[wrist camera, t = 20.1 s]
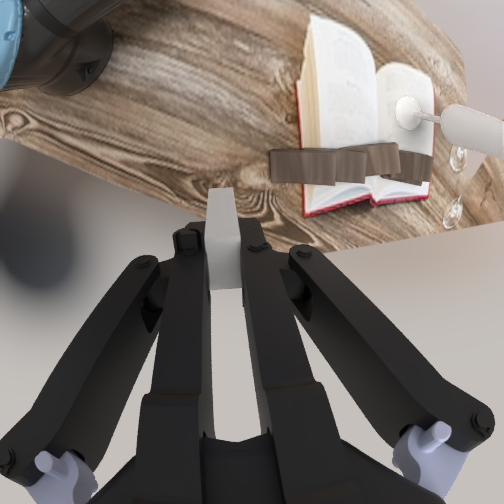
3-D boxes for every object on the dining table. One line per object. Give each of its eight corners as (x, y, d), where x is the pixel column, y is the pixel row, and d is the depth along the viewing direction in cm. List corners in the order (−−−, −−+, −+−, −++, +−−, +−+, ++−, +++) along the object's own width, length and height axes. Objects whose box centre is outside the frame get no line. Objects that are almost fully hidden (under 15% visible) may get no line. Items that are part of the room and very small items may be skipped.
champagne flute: (390, 101, 38) (497, 125, 17) (415, 92, 36) (519, 113, 16) (401, 134, 41) (502, 176, 21) (425, 124, 40) (523, 160, 19)
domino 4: (390, 178, 42) (429, 182, 43) (394, 150, 39) (433, 157, 40) (385, 174, 44) (423, 178, 45) (388, 148, 41) (427, 155, 42)
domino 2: (303, 179, 42) (364, 183, 40) (303, 149, 40) (366, 153, 37) (304, 176, 44) (362, 180, 42) (304, 147, 41) (364, 151, 39)
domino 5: (383, 178, 44) (421, 186, 45) (389, 152, 41) (426, 162, 43) (378, 175, 46) (415, 182, 47) (383, 150, 43) (420, 160, 45)
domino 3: (345, 178, 42) (400, 172, 39) (340, 150, 40) (397, 144, 37) (344, 175, 44) (397, 169, 41) (339, 148, 42) (394, 142, 38)
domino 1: (271, 182, 42) (335, 185, 39) (269, 151, 39) (336, 154, 37) (273, 178, 44) (334, 182, 41) (272, 149, 41) (336, 151, 38)
